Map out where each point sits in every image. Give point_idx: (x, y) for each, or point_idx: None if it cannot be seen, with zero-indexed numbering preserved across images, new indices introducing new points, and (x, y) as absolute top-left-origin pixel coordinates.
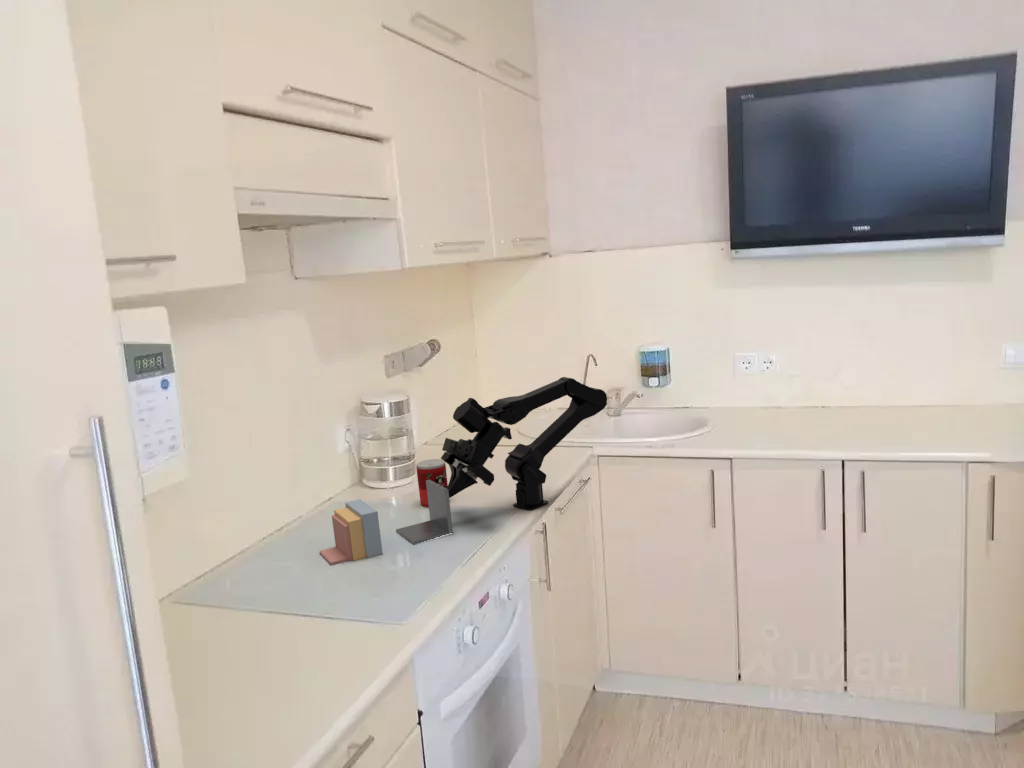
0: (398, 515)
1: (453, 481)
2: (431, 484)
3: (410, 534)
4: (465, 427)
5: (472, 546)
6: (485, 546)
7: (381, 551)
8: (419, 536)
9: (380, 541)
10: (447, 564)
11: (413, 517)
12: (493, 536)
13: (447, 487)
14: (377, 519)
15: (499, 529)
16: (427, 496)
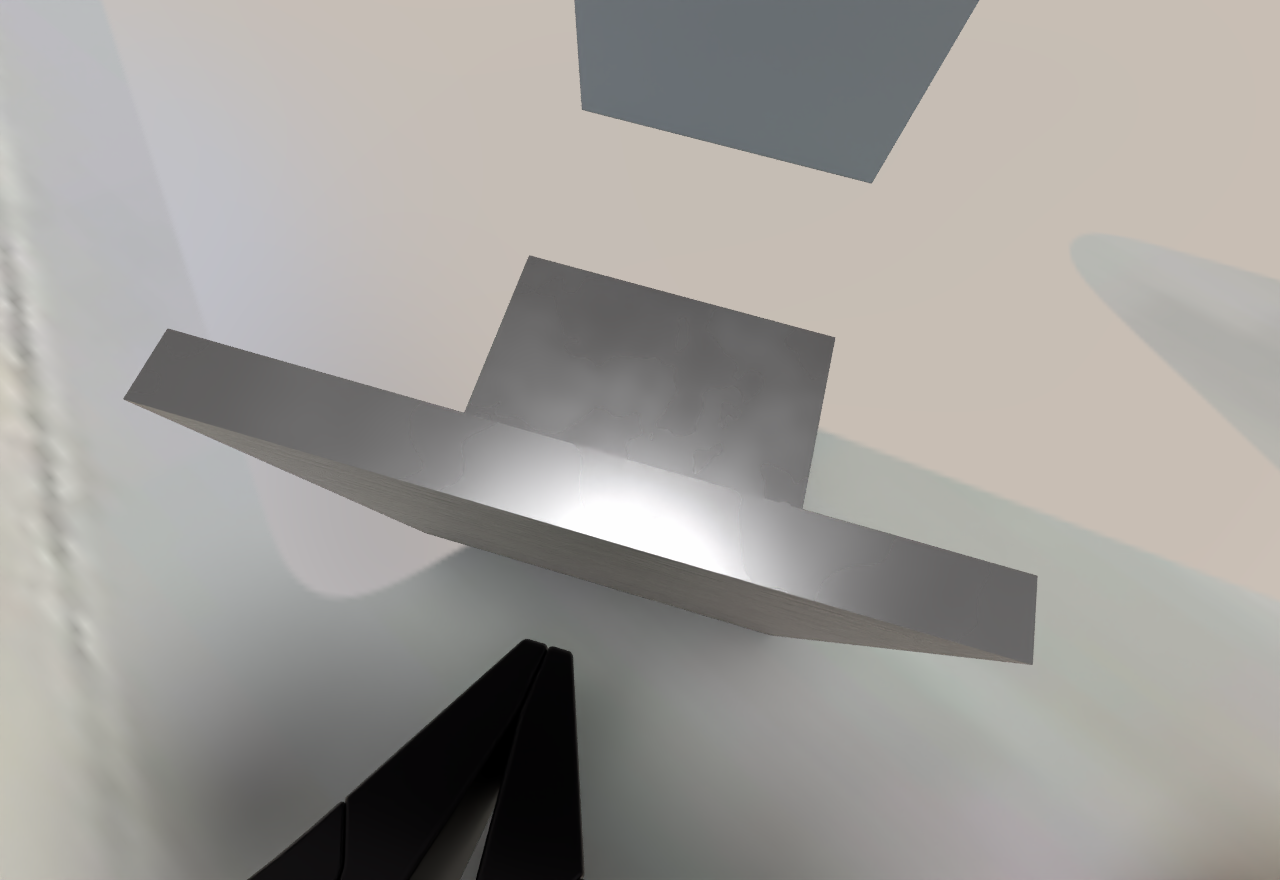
0: (1163, 586)
1: (381, 876)
2: (747, 499)
3: (658, 327)
4: None
5: (117, 441)
6: (16, 490)
7: (582, 92)
8: (569, 334)
9: (577, 33)
10: (106, 181)
11: None
12: (63, 679)
13: (573, 755)
14: None
15: (101, 847)
16: None
